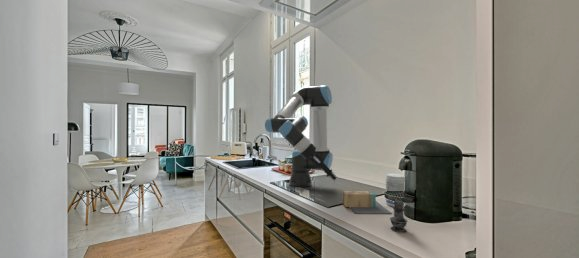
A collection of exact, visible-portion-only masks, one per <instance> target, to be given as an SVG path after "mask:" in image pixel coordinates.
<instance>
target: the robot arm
mask: <svg viewBox="0 0 579 258" xmlns="http://www.w3.org/2000/svg"><path fill="white" fill-rule="evenodd" d="M332 101H333V96H332V91H331V89H330V87H329V86H328V85H312V86H304V87H300V88H299V89H297V90H296V91H294V92H293V93H292V94H291V95H290V97H289V99H288V101H287V102H286V103H285V105H283V106H282V108H281V109H280V110H279V111H278V113H276V115H275V116H273V117H271V118H266V120H264V121H265V122H264V129H265V130H266V132H267V133H272V134H275V133H280V135H281V136H282V137H283V138H284V139H285V140H286V141H287V142H288V143H289V144H290V145H291V146H292V147H293V148H294V150H293V151H292V153H291V174H290V178H289V181H288V185H290V186H292V187H299V188H303V187H311V186H312V185H313V182H312V176H311V174H310V171H311V170H314V171H323V172H324V173H325V174H326V177H329V179H331V181H332V182H333V183H334V184H335V185H336V186H339V185H340V184H341V183H342V181H341V179H340V177H338V176H337V175H336V174H335V173H334V172H333V170H332V169H331V167H332V165H333V153H332V152H330V148H329V147H328V128H327V126H328V120H327V119H328V117H327V115H328V113H327V112H328V111H327V110H328V109H329V107H330V105H331V104H332ZM307 105H308V106H309V105H310V108H311V109H312V123H313V124H312V125H313V129H312V131H313V132H312V133H313V143H311V141H310V140H309V139H308V138H307V137H306V136H305V135H304V134H303V133H304V131H305V130H306V129H307V127H308V125H309V122H308V119H307V118H306V117H305V116H304V115H297V116H296V117H293V116H294V115H295V114H296V112H297V111H298V110H299V108H302V107H303V106H307ZM292 117H293V118H292Z"/></svg>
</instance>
